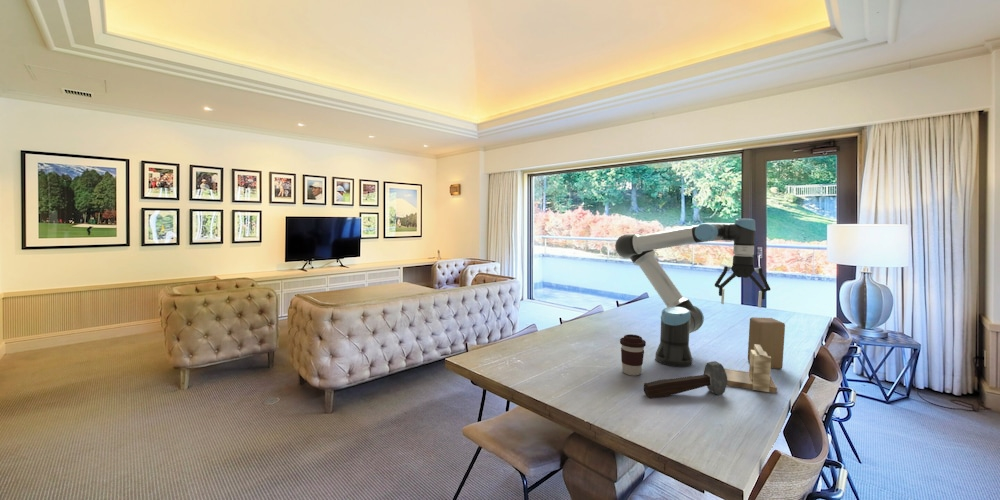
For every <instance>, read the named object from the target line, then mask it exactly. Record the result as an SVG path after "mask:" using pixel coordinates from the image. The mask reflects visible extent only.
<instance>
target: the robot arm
mask: <svg viewBox="0 0 1000 500" xmlns="http://www.w3.org/2000/svg"><path fill="white" fill-rule="evenodd" d="M756 231H757V229H756V220H755V219H753V218H736V219H735V220H734V222H733V223H729V222H728V223H727V222H726V223H724V222H703V223H700V224H697V225H696V224H695V225H690V226H689V225H688V226H685V227H678V228H675V229H674V228H673V229H669V230H663V231H658V232H652V233H647V234H641V233H635V234H631V233H629V234H624V235H621V236H620V237H618V239H616V242H615V244H614V248H615V251H616V253H617V254H618V255H619V256H620V257H622V258H624V259H630V260H631V262H632V263H633V264H634V265H636V266H638V267H639V268H640V269H641V271H642V273H643V274H644V275H645V276H646V278H647V280H648V282H649V283H650V284H651V285H652V287H653V289H654V290H655V291H656V293H657V294H658V296H659V298H660V299H661V300H662V303H664V305H665V306H666V307H664V308H663V309H662V310H661V315H660V334H659V335H660V337H659V344H658V346H657V349H656V351H655V361H657V362H658V363H660V364H662V365H666V366H670V367H680V368H684V367H685V368H686V367H690V366H692V365H693V356H692V352H691V348H690V345H689V344H690V334H691V333H694V332H696V331H698V330H699V329H700V328H701V327H702V326H703V324H704V320H705V317H704V316H705V315H704V312H703V311H702V310H701V308H699V307H698V306H696V305H693V303H692V302H691V301H690V299H689V298H686V297H684V296H683V295H682V293H681V292H680V291H679V289H678V288H677V286H676V285H675V284H674V282H673V281H672V280H671V278H670V276H669V275H668V274H667V272H666V271H665V270H664V268H663V267H662V266H661V264H660V263H659V261H658V260H657V258H656V257H655V254H656V252H655V250H661V249H668V248H674V247H679V246H685V245H692V244H697V243H698V244H701V243H706V242H713V241H716V242H717V241H723V242H724V241H726V242H729V241H730V242H733V251H732V253H733V256H732V266H728V265H724V266H723V271H722V272H721V273H720V275H719V276H718V278H717V280H716V281H715V283H714V287H715V288H718V296H719V297H721V300H720V303H721V305H724V303H725V302H724V301H725V287H726V286H727V285H728V284H729V283H730V282H731V281H732V280H733V279H735V277H737V278H745V279H747V278H750V279H751V281H753V283H754V284H755V285H756V286H757V287H758V288H759V291H758V301H757V307H758V308H762V300H765V298H766V297H765V296H766V292H768V291H771V287H770V285H769V282H768V281H767V280H766V278H765V276H764V274H763V268H762V267H760V266H759V267H754V264H755V263H754V260H755V258H754V255H755V242H756V240H755V239H756V237H755V236H756ZM730 271H732V273H731V274H730V275H729V276H728V277H727V278H726V279H725V280H724V281H723V279H724V277H725V276H726V275H727V273H728V272H730ZM754 272H755V273H757V274H758V276H759V278H760V279H761V282H762V283H763V285H764V286H762V284H761V283H760V282H759V281H758V280H757V279H756V278H755V277H754V275H753V273H754ZM722 281H723V282H722ZM721 282H722V283H721ZM720 283H721V284H720Z"/></svg>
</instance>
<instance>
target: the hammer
mask: <svg viewBox="0 0 1000 500" xmlns="http://www.w3.org/2000/svg"><path fill="white" fill-rule="evenodd" d="M724 368H725V367H724V366H723V364H722V363H720V362H718V361H715V360H713V361H710V362H706V363H705V365H704V368H703V369H704V370H703V374H699V375H692V376H683V377H682V376H680V377H673V378H672V377H671V378H664V379H663V378H662V379H658V380H654V381H649V382H644V383H643V393H644V395H645V396H646V397H648V399H657V398H659V399H660V398H665V397H669V396H673V395H676V394H677V395H678V394H680V393H684V392H688V391H692V390H696V389H699V388H704V387H707V390H709V391H710V392H712V393H713V394H714V395H716V396H721V395H722V396H723V394H724V393H725V392H726V390H727V386H728V385H727V375H726V372H725V369H724Z"/></svg>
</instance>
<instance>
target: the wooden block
mask: <svg viewBox="0 0 1000 500" xmlns="http://www.w3.org/2000/svg"><path fill="white" fill-rule="evenodd" d="M748 325H749V328H748V343H747V345H748V346H747V347H748V348H747V360H748V361H747V362H749V363H750V350H755V349H754V344H758V345H760V346H761V347H762V349H763V351H766V353H767V355H768V356H770V357H771V369H772V368H773V369H777V370H780V369H783V365H784V362H783V361H784V351H785V350H784V348H785V347H784V346H785V331H786V323H784V322H782V321H780V320H777V319H775V318H773V317H756V316H755V317H754V316H753V317H750V318H749V324H748Z"/></svg>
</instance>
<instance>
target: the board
mask: <svg viewBox="0 0 1000 500" xmlns="http://www.w3.org/2000/svg"><path fill="white" fill-rule="evenodd" d="M724 369H725V372H726V375H727V386H729V387H734V388H735V387H736V388H741V389H747V390H753V380H751V378H750V376H749V371H746V370H739V369H738V370H737V369H732V368H731V369H730V368H725V367H724ZM777 390H778V388H777V385H776V384H775V382H774V380H773V378H772V376H771V375H770V386H769V392H768V393H773V394H778V393H777Z"/></svg>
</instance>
